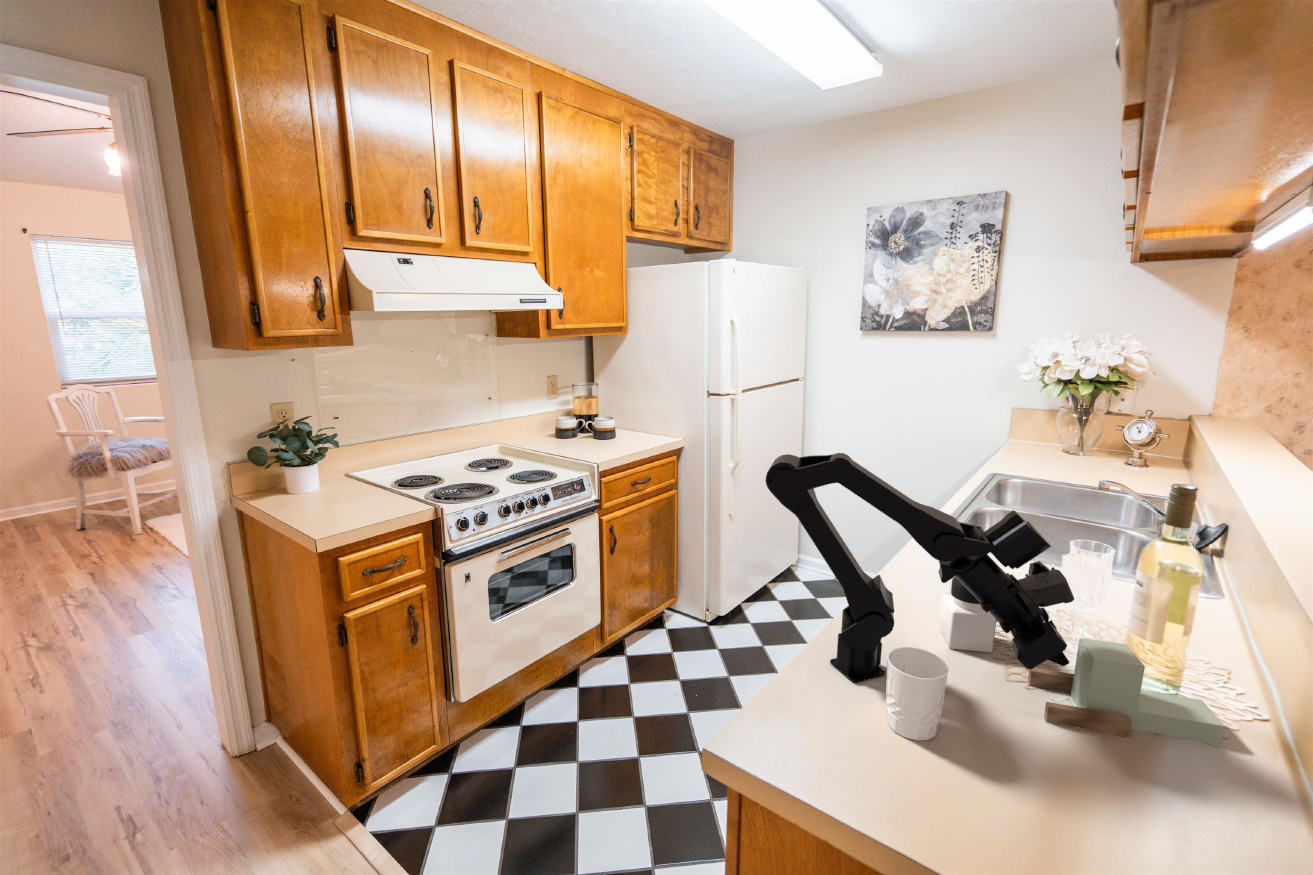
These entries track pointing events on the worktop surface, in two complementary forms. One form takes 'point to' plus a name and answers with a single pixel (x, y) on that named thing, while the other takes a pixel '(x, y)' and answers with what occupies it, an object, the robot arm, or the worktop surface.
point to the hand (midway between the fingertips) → (1065, 663)
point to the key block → (1137, 694)
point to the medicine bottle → (966, 621)
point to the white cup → (915, 692)
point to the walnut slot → (1076, 714)
